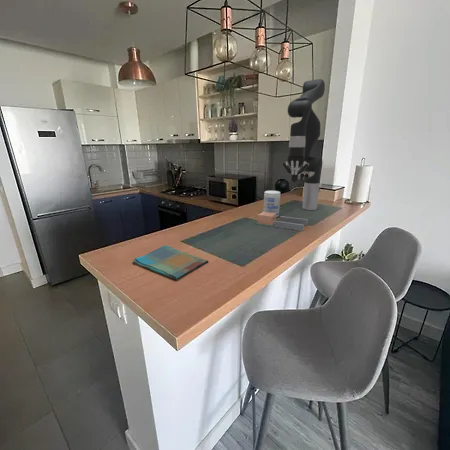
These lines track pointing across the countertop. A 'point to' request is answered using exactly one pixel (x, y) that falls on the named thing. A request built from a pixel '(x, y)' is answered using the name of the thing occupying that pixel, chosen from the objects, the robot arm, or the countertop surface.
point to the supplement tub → (271, 202)
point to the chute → (291, 223)
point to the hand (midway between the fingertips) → (294, 182)
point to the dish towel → (170, 262)
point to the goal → (265, 224)
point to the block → (266, 218)
